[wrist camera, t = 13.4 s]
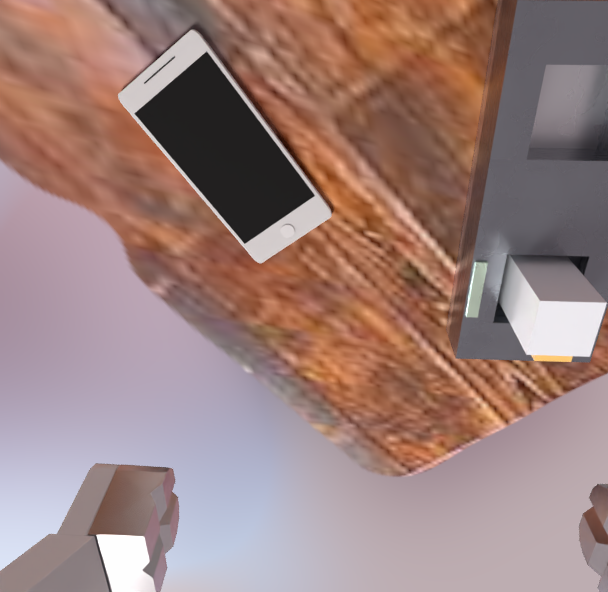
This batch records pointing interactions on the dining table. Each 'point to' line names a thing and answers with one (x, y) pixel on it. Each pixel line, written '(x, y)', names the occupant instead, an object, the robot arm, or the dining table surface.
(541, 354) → the plug
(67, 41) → the dining table surface
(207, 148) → the smartphone
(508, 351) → the panel
